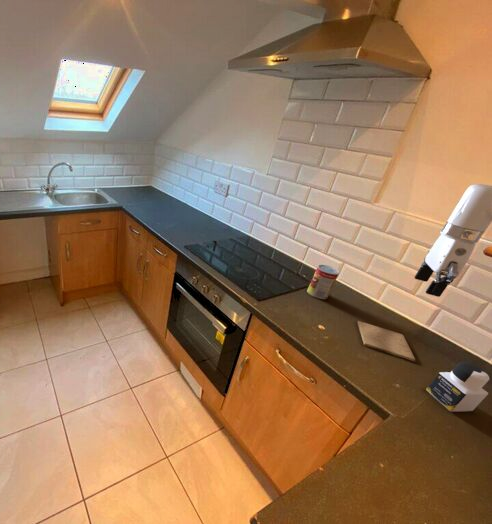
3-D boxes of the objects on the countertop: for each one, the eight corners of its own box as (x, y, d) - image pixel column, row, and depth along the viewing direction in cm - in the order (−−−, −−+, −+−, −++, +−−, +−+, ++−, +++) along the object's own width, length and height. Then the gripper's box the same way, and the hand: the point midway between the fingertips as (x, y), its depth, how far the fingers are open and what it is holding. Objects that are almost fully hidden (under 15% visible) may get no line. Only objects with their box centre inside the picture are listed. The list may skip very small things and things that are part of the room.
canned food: (323, 290, 130) (334, 266, 125) (330, 300, 124) (342, 275, 118) (304, 287, 131) (315, 263, 126) (310, 297, 124) (321, 272, 119)
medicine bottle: (424, 389, 85) (449, 358, 80) (446, 389, 86) (471, 358, 81) (450, 412, 79) (478, 380, 73) (472, 411, 80) (502, 380, 74)
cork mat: (401, 336, 107) (402, 334, 106) (414, 361, 95) (415, 359, 95) (357, 322, 112) (358, 320, 111) (364, 344, 100) (365, 343, 100)
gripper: (497, 247, 71) (454, 306, 79) (464, 227, 85) (430, 278, 93) (457, 239, 73) (420, 296, 81) (431, 220, 88) (402, 271, 95)
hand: (426, 287), depth 87 cm, fingers open, 9 cm apart
